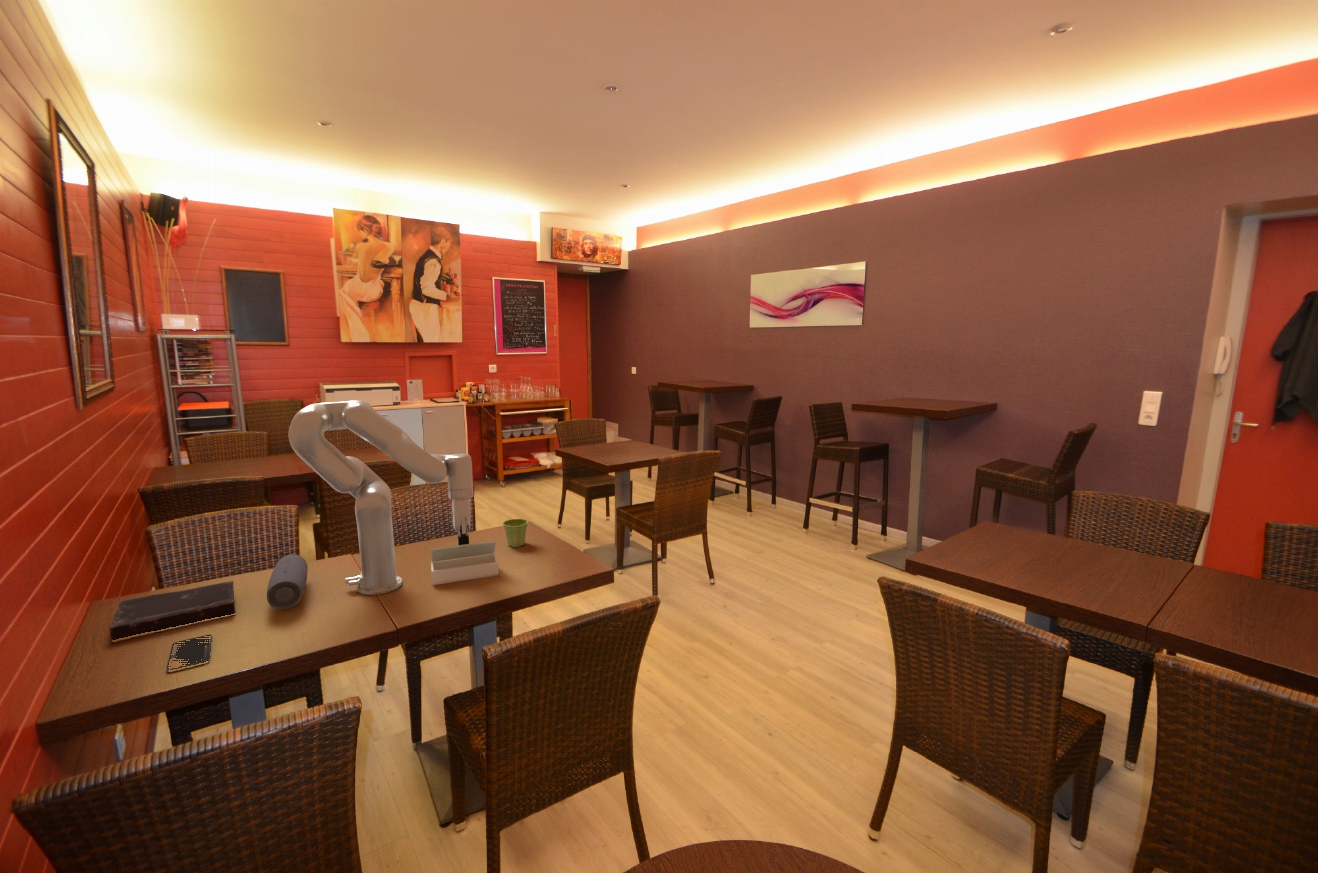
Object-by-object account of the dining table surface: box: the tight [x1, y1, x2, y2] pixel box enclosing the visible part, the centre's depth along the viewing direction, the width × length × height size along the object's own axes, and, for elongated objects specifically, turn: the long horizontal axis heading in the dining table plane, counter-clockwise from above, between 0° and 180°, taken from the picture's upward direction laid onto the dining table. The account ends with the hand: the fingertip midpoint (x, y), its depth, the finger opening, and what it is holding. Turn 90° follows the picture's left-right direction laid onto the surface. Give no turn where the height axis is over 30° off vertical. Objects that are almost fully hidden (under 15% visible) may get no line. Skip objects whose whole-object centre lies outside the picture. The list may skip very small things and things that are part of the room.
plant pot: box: [502, 518, 529, 548], centre depth 213 cm, size 9×9×9 cm
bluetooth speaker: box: [266, 553, 309, 610], centre depth 168 cm, size 23×9×10 cm, turn 28°
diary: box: [109, 580, 236, 641], centre depth 157 cm, size 19×25×5 cm
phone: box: [166, 634, 213, 671], centre depth 138 cm, size 8×1×15 cm
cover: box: [430, 540, 497, 562], centre depth 185 cm, size 20×8×1 cm
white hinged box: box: [430, 553, 500, 586], centre depth 184 cm, size 20×8×4 cm, turn 113°
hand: (463, 547), depth 184 cm, fingers closed
